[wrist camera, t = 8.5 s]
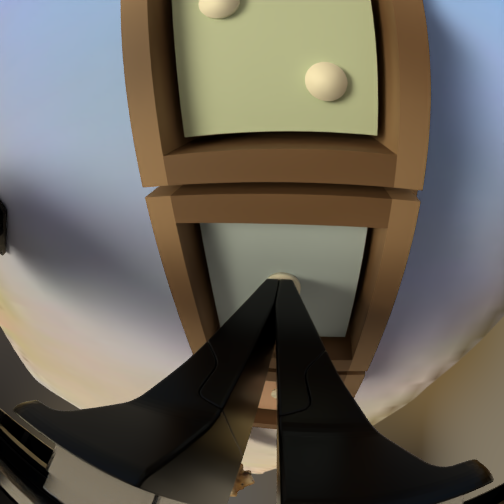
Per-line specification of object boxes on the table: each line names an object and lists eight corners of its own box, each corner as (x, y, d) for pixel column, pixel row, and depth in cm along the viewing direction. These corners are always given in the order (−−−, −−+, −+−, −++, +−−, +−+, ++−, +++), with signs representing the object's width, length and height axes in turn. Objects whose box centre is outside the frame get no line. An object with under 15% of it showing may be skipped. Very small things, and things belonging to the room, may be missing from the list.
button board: (352, 377, 18) (353, 435, 14) (220, 368, 20) (204, 422, 16) (398, -23, 5) (443, -68, 1) (156, -12, 7) (86, -40, 3)
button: (341, 302, 12) (345, 340, 10) (231, 297, 13) (219, 332, 11) (356, 195, 9) (369, 225, 7) (217, 193, 10) (196, 220, 8)
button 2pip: (361, 125, 8) (379, 136, 6) (207, 126, 8) (181, 138, 7) (352, -12, 5) (365, -38, 3) (196, -4, 6) (167, -23, 4)
